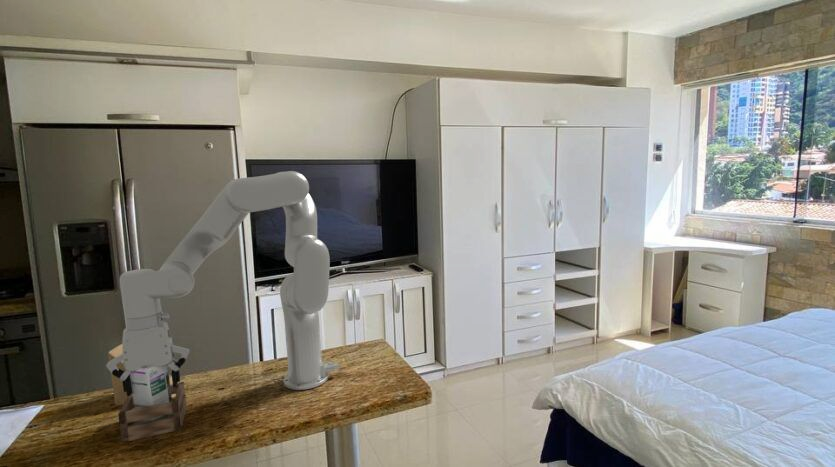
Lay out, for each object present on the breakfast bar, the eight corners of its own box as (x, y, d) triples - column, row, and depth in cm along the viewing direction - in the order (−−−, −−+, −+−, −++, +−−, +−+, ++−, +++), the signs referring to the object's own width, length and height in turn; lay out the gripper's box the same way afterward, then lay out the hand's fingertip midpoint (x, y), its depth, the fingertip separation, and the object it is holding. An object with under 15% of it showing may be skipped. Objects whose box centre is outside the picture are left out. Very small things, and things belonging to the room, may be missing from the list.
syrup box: (154, 428, 105) (147, 369, 103) (136, 424, 106) (128, 367, 105) (174, 415, 110) (168, 359, 108) (156, 412, 112) (149, 357, 110)
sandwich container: (173, 401, 119) (167, 348, 118) (114, 406, 118) (107, 352, 116) (187, 386, 128) (181, 336, 126) (132, 390, 127) (125, 340, 125)
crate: (186, 406, 116) (183, 381, 115) (181, 429, 105) (178, 402, 104) (133, 416, 112) (130, 391, 111) (122, 442, 101) (118, 414, 100)
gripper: (186, 311, 112) (194, 375, 114) (105, 322, 105) (115, 390, 108) (183, 319, 105) (191, 388, 107) (96, 332, 98) (107, 404, 101)
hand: (153, 389), depth 107 cm, fingers open, 9 cm apart
